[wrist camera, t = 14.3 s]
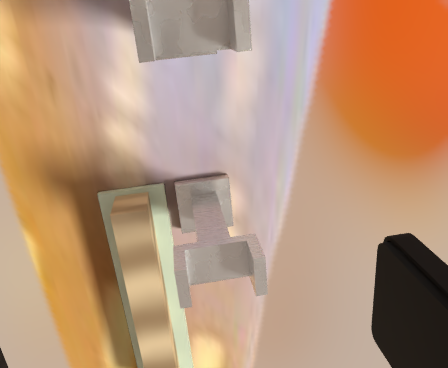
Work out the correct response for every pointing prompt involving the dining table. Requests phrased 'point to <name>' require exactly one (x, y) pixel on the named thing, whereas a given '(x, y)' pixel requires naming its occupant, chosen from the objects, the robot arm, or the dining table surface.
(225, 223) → the post
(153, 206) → the mat
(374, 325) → the robot arm
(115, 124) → the dining table surface
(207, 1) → the post
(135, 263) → the rail
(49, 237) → the dining table surface
